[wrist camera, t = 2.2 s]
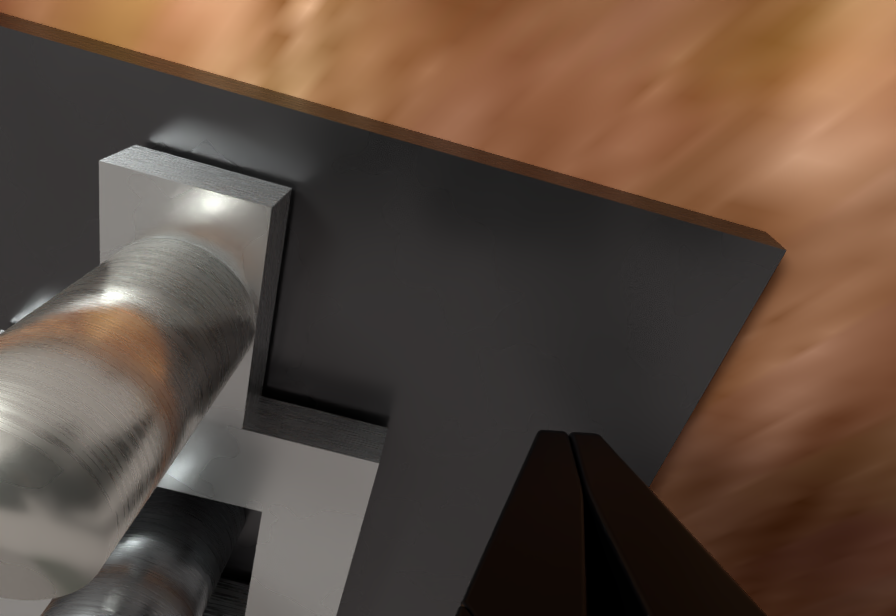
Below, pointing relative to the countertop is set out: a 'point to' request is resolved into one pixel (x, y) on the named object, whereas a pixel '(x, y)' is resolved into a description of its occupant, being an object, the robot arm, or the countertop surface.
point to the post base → (380, 308)
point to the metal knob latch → (172, 399)
